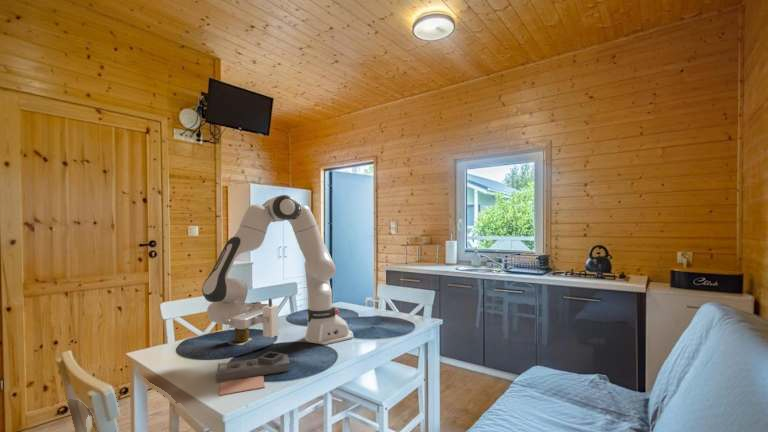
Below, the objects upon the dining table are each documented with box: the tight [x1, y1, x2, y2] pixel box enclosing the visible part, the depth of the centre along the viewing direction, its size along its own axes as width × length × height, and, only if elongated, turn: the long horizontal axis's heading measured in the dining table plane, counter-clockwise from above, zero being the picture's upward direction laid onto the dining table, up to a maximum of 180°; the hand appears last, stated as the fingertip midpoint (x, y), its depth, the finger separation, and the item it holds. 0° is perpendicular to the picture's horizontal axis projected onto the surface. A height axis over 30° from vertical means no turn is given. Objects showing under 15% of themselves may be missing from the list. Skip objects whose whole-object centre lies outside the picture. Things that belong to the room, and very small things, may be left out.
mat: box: [218, 375, 266, 397], centre depth 125 cm, size 14×9×1 cm, turn 111°
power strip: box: [215, 350, 291, 383], centre depth 136 cm, size 25×9×5 cm, turn 111°
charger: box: [262, 298, 280, 339], centre depth 138 cm, size 4×4×14 cm
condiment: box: [227, 327, 253, 346], centre depth 168 cm, size 7×8×12 cm
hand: (272, 318), depth 138 cm, fingers closed on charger, 4 cm apart
